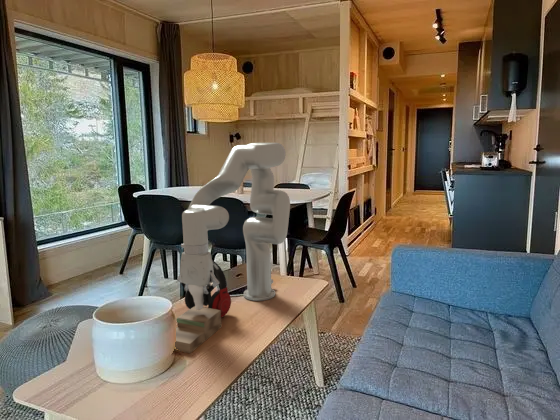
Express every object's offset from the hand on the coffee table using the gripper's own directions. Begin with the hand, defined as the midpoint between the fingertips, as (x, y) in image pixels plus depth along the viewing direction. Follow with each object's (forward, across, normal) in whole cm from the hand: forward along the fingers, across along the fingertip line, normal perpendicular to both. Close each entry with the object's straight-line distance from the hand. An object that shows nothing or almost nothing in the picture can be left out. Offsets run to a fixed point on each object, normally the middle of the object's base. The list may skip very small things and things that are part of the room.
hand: (199, 302), depth 131 cm
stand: (+10, 0, -4) cm, 11 cm away
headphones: (+10, -5, +13) cm, 17 cm away
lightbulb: (+3, 0, 0) cm, 3 cm away
